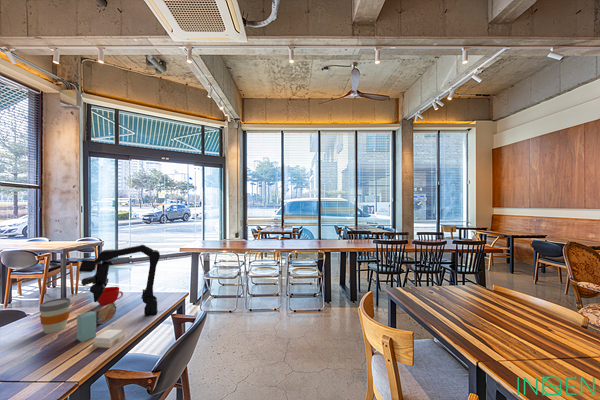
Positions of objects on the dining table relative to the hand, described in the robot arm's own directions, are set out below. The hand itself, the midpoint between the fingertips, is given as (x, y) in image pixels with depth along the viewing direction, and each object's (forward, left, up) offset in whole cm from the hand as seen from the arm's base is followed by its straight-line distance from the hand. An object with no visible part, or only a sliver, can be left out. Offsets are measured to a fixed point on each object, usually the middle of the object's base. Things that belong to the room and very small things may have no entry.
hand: (96, 299), depth 146 cm
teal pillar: (0, +16, -14) cm, 21 cm away
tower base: (-12, +26, -15) cm, 32 cm away
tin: (-3, -3, -14) cm, 15 cm away
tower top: (-12, +26, -12) cm, 31 cm away
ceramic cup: (+1, -31, -14) cm, 34 cm away
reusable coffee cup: (+19, -1, -14) cm, 24 cm away
